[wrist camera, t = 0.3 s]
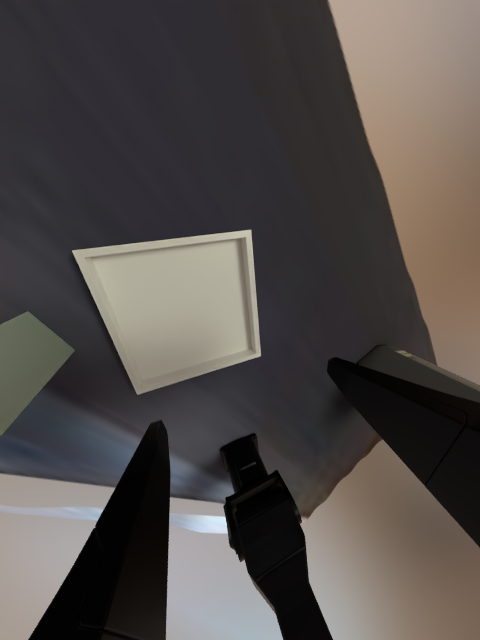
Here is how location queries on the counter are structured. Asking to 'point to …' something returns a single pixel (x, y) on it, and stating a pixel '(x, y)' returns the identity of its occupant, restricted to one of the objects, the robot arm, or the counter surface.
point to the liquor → (419, 372)
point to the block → (26, 363)
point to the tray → (176, 304)
